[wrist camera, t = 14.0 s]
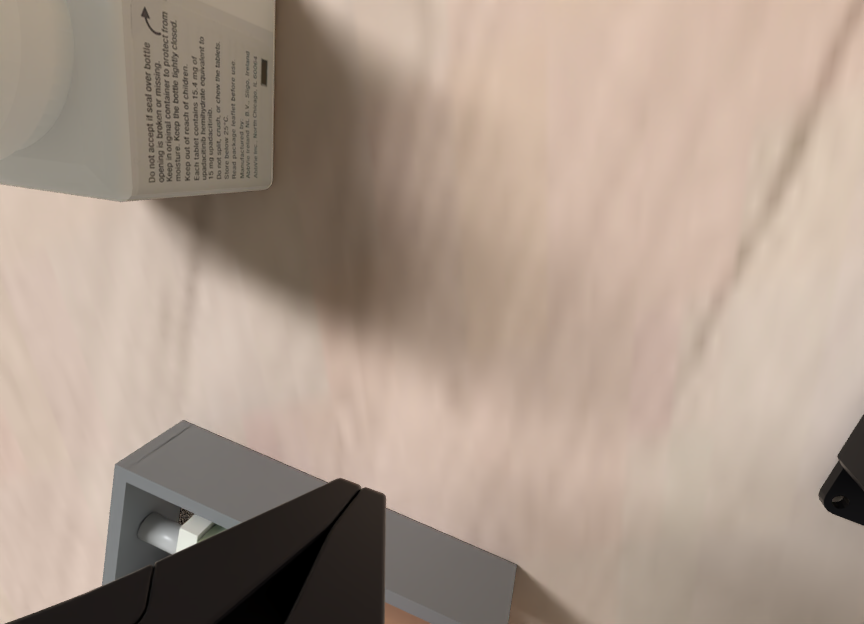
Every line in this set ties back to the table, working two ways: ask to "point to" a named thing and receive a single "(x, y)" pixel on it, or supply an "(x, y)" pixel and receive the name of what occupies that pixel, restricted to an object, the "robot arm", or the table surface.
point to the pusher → (173, 532)
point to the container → (137, 97)
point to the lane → (274, 485)
